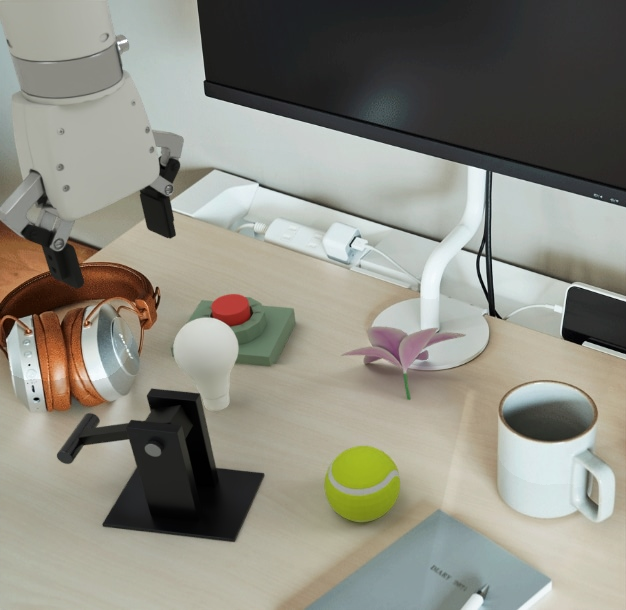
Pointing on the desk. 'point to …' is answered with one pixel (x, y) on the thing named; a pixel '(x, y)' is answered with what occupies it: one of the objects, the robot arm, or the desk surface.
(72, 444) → the switch lever
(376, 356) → the lily
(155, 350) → the desk surface
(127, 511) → the switch bracket
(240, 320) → the button
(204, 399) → the lightbulb
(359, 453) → the tennis ball
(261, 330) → the button box
